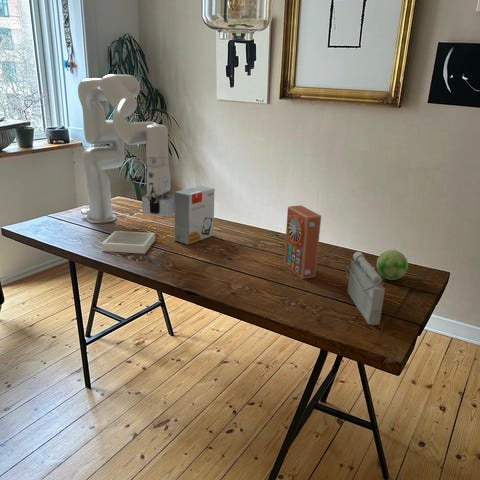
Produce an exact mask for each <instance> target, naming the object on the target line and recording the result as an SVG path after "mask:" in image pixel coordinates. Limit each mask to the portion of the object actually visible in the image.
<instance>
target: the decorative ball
mask: <svg viewBox="0 0 480 480" xmlns="http://www.w3.org/2000/svg"><path fill="white" fill-rule="evenodd" d="M376 269H377V270H376V271H377V273H378V274H379V275H380V277H381V278H382V277H383V278H384V279H386V280H389V281H395V280H399V279H402V278H403V277H404V276H405V275H406V273H407V271H408V269H409V263H408V259H407V258H406V256H405V255H404V254H403V253H402V252H400V251H399V250H396V249H389V250H385V251H383V252H382V253H381V254H380V255H379V256H378V257H377V260H376Z"/></svg>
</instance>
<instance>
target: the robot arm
mask: <svg viewBox="0 0 480 480" xmlns="http://www.w3.org/2000/svg"><path fill="white" fill-rule="evenodd" d="M140 87H141V86H140V82H139V81H138V79H137V78H136V77H135V75H134V76H133V75H131V74H113V73H112V74H107V75H105V76H103V77H102V78H101V77H99V78H98V77H93V78H85V79H83V80H80V82H78V87H77V95H78V99H79V102H80V105H81V109H82V119H83V131H84V132H83V134H84V139H85V141H86V143H88V144H89V145H105V146H95V147H89V148H87V149H85V150H84V151H83V152H82V153H81V158H82V159H81V160H82V164H83V167H84V172H85V177H86V179H85V180H86V188H87V189H86V190H87V199H88V209H87V208H82V209H80V213H81V215H86V222H88V223H92V224H106V223H111V222H114V221H115V220H117V219H116V218H117V216H116V214H115V213H113V208H112V206H113V205H112V195H111V191H112V190H111V181H110V178H109V176H108V175H107V174H106V172H105V171H106V170H111V169H117V168H121V167H122V166H123V165H124V163H125V147H124V146H125V144H126V145H130V146H132V145H142V144H143V145H145V149H146V150H145V157H146V159H145V160H146V167H147V168H146V194H145V195H146V196H147V198H148V200H149V203H150V213H154V214H158V213H159V203H157V201H158V195H159V196H160V195H162V194H166V195H169V194H168V193H169V192H170V190H171V187H172V185H171V172H170V166H169V130H168V126H167V125H164V124H158V123H157V122H155V121H133V122H131V121H130V122H128V121H127V119H126V118H128V117H129V116H131V115H133V113H135V111H136V109H137V108H138V101H137V99H136V98H137V97H138V96H139V94H140V90H141V88H140ZM101 102H109V103H110V105H111V106H112V108H113V110H114V111H113V115H112V119H109V120H106V114H105V113H106V112H105V108H104V106H103V105H102V103H101ZM124 143H125V144H124ZM108 144H109V145H108ZM104 170H105V171H104ZM153 193H155V194H153ZM153 196H155V198H154V197H153Z"/></svg>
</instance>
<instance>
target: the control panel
mask: <svg viewBox="0 0 480 480" xmlns="http://www.w3.org/2000/svg"><path fill="white" fill-rule="evenodd" d="M286 215H287V217H286V227H285V231H286V232H285V243H284V258H283V259H284V260H283V265H284V267H286V268H287V269H288V270H290V271H291V272H292V273H294V274H295V275H296V276H298V277H299V278H300V279H301V280H303V279H309V278H315V277H316V275H317V264H318V263H317V262H318V254H319V245H320V244H319V243H320V233H321V222H322V215H321V214H319V213H317V212H315V211H314V210H311V209H309V208H307V207H305V206H303V205H302V204H301V205H289V206H288V207H287V214H286Z"/></svg>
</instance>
